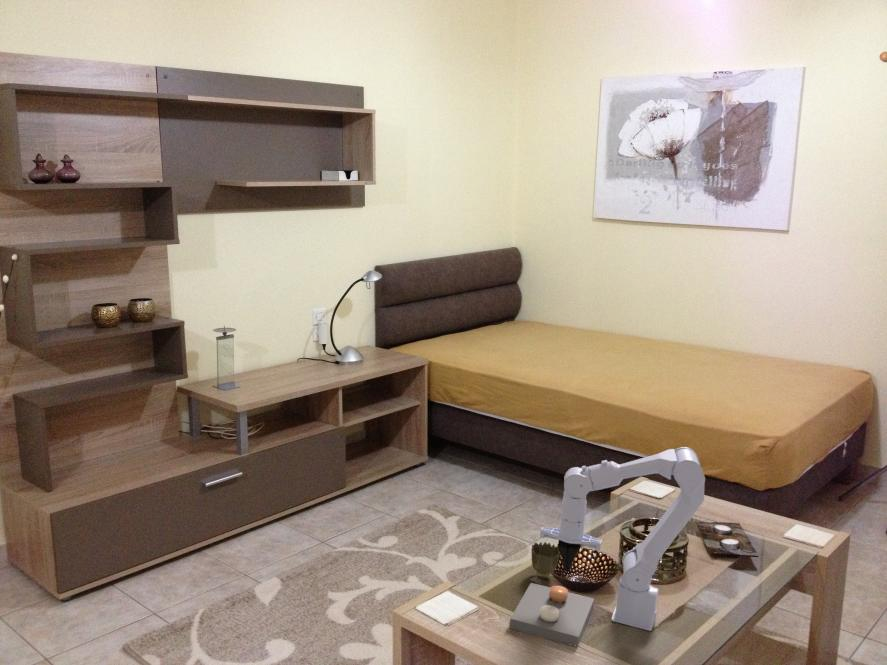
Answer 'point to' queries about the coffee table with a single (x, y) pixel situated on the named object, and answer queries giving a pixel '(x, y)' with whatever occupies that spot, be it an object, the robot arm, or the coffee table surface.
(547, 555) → the cup
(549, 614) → the white rounded piece
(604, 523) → the coffee table surface
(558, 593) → the terracotta button
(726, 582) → the coffee table surface
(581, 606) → the button panel
